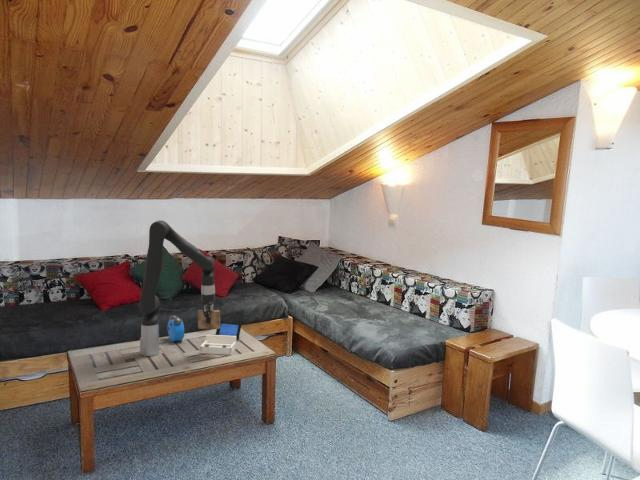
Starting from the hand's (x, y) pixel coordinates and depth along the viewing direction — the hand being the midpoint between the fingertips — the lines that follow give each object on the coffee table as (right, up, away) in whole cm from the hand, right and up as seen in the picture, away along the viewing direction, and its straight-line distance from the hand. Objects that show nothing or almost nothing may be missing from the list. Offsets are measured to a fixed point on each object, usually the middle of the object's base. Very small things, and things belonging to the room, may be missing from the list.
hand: (209, 322), depth 268 cm
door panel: (0, -3, 0) cm, 3 cm away
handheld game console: (+4, -16, +27) cm, 31 cm away
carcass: (+4, -17, +8) cm, 19 cm away
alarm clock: (-25, -15, +22) cm, 37 cm away
